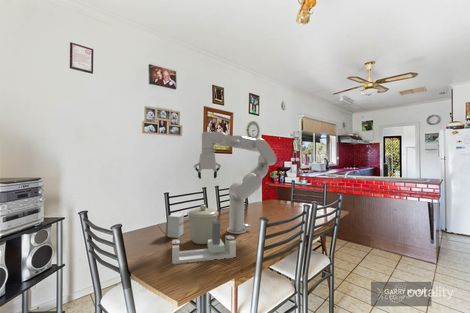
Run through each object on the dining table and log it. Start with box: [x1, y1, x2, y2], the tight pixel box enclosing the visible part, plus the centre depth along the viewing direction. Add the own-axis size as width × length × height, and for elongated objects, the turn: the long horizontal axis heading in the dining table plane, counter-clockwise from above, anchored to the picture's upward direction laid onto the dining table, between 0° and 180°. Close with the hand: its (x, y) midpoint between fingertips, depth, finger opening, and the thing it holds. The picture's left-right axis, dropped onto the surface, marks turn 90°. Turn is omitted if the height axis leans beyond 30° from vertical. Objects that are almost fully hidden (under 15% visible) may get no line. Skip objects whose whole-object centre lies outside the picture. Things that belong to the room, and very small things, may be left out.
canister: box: [186, 204, 219, 245], centre depth 134 cm, size 18×18×21 cm
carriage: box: [207, 220, 225, 253], centre depth 116 cm, size 7×9×13 cm
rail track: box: [170, 235, 237, 265], centre depth 114 cm, size 32×10×8 cm, turn 105°
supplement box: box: [167, 213, 185, 239], centre depth 142 cm, size 7×7×13 cm
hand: (207, 178), depth 146 cm, fingers open, 9 cm apart
